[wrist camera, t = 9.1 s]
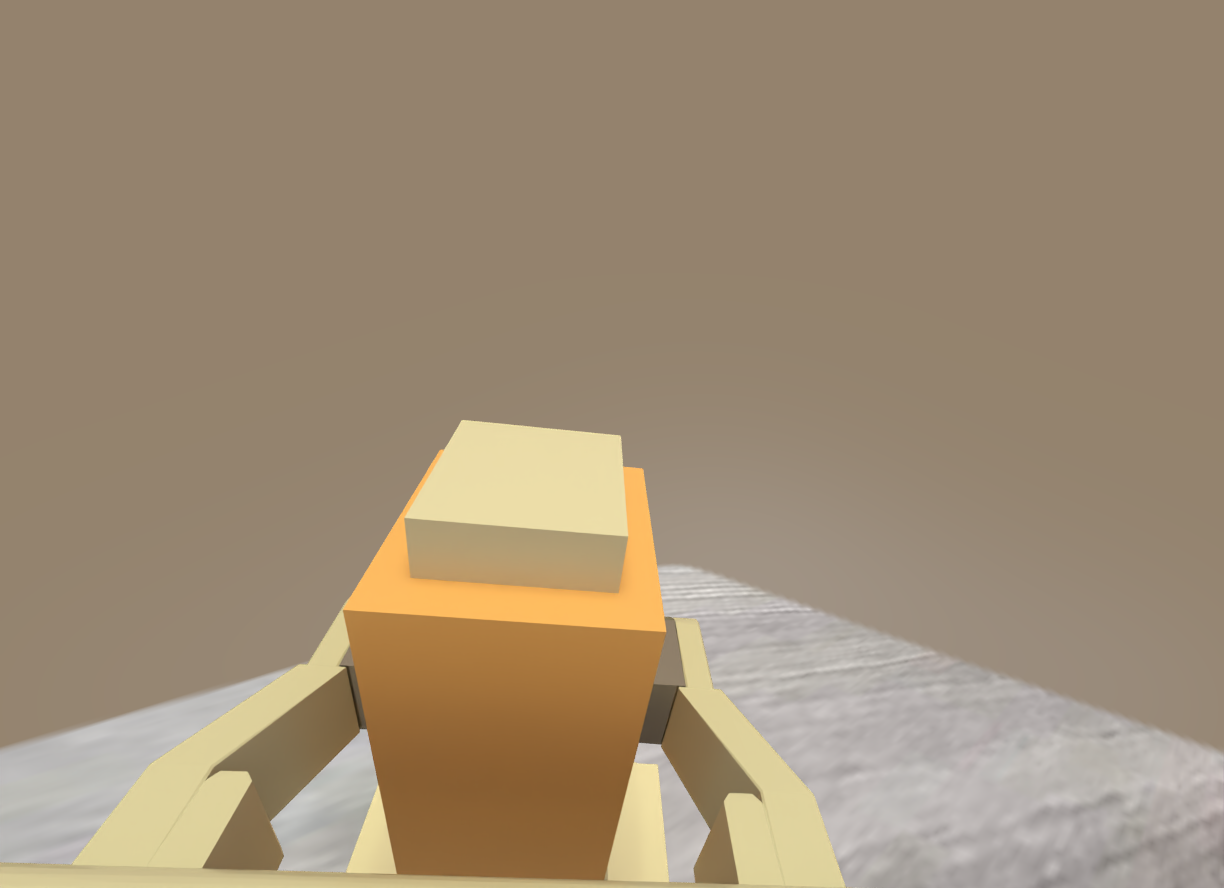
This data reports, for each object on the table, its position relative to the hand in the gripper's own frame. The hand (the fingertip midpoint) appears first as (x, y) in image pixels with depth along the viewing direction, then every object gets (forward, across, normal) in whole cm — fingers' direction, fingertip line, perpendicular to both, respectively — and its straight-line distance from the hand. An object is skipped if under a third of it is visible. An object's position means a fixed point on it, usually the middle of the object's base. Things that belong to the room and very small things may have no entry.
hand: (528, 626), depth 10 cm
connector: (-1, 0, +6) cm, 6 cm away
